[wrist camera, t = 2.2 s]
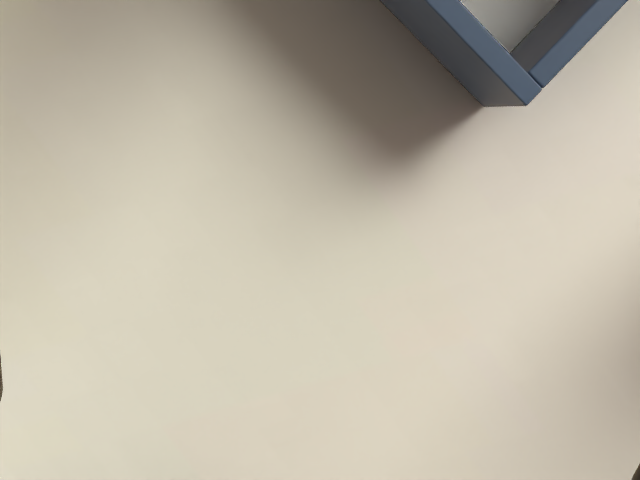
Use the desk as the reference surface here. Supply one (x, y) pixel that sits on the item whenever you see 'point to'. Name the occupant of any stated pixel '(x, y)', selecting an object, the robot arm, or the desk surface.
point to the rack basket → (490, 57)
